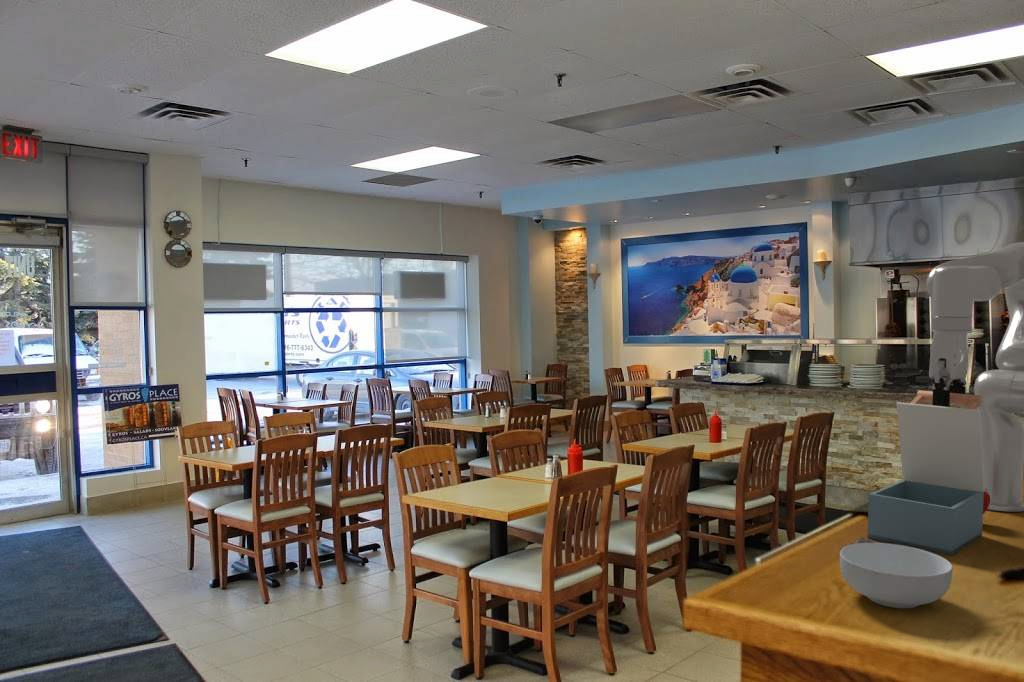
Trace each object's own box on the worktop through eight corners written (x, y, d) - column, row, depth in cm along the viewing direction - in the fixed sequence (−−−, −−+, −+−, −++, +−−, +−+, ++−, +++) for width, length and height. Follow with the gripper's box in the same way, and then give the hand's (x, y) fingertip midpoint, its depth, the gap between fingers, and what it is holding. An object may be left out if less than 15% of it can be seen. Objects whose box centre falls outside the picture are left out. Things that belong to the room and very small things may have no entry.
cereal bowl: (896, 626, 129) (898, 580, 129) (816, 590, 145) (817, 549, 144) (975, 609, 136) (977, 566, 136) (891, 576, 151) (892, 537, 151)
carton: (901, 520, 187) (902, 479, 186) (981, 535, 176) (983, 492, 175) (867, 537, 174) (868, 494, 174) (951, 555, 163) (953, 508, 162)
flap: (902, 479, 186) (916, 463, 192) (983, 492, 175) (996, 474, 181) (896, 402, 182) (910, 387, 187) (978, 410, 170) (991, 394, 176)
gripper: (947, 323, 189) (944, 400, 190) (918, 326, 177) (915, 408, 178) (984, 324, 184) (981, 404, 185) (957, 327, 171) (954, 412, 173)
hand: (948, 406), depth 181 cm, fingers open, 9 cm apart
